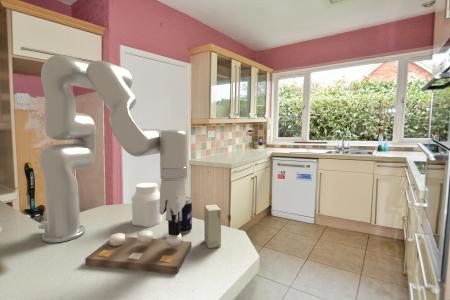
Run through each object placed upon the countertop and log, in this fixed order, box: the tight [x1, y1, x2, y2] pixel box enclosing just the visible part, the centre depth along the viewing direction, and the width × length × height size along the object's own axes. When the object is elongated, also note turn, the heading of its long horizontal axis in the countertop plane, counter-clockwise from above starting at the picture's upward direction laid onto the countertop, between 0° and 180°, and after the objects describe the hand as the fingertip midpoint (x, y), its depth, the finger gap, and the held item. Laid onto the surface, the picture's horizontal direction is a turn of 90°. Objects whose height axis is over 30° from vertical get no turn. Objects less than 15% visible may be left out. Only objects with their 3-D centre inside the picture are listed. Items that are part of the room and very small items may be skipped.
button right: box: [165, 233, 182, 246], centre depth 73 cm, size 4×4×2 cm
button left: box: [108, 232, 126, 246], centre depth 75 cm, size 4×4×2 cm
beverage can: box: [180, 196, 193, 234], centre depth 90 cm, size 6×6×12 cm
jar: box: [131, 182, 163, 228], centre depth 98 cm, size 12×10×15 cm
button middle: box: [136, 229, 154, 243], centre depth 74 cm, size 4×4×2 cm
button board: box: [85, 236, 192, 275], centre depth 72 cm, size 26×14×2 cm, turn 83°
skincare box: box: [203, 204, 222, 249], centre depth 80 cm, size 6×4×12 cm
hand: (174, 233), depth 73 cm, fingers closed
